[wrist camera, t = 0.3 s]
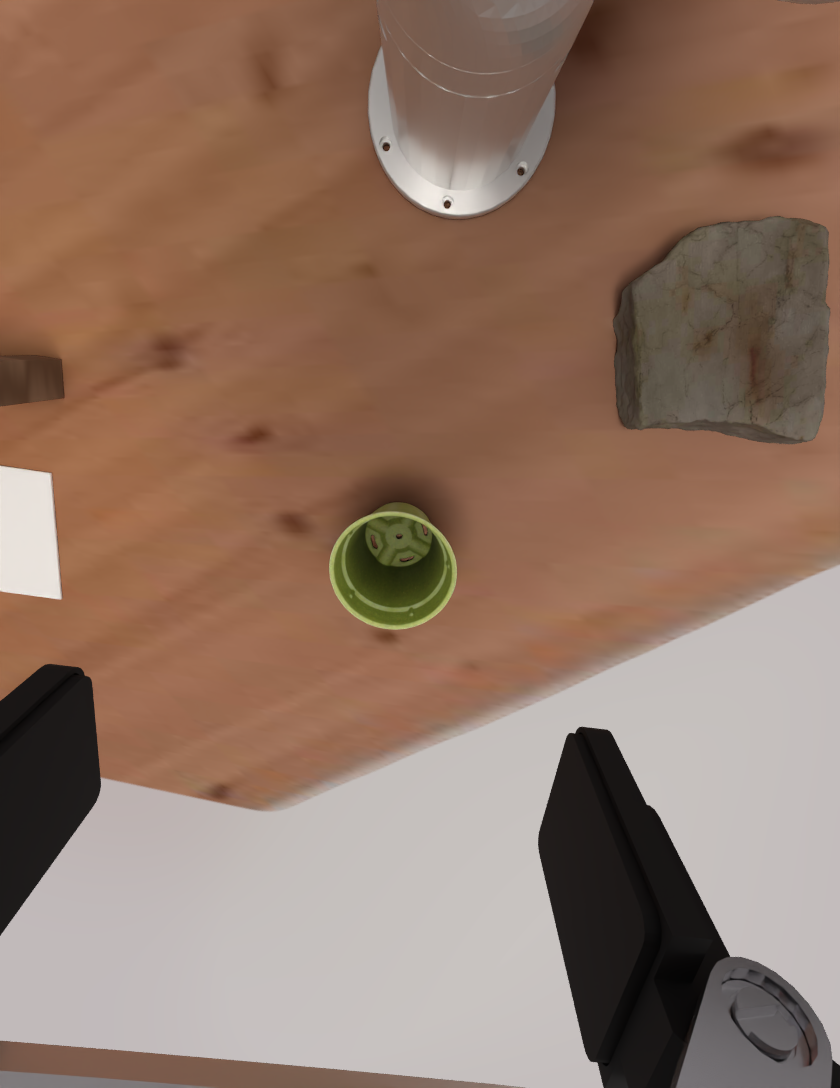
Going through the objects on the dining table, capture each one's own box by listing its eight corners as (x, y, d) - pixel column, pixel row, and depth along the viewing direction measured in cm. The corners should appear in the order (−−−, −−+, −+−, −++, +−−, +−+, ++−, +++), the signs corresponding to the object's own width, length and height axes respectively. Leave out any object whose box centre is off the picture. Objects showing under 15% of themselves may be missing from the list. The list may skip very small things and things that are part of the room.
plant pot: (366, 595, 49) (355, 643, 41) (329, 502, 46) (309, 534, 38) (463, 566, 48) (472, 610, 40) (432, 468, 45) (434, 495, 37)
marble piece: (792, 439, 45) (827, 448, 41) (614, 465, 45) (633, 476, 42) (811, 213, 39) (854, 197, 35) (608, 248, 40) (628, 237, 36)
